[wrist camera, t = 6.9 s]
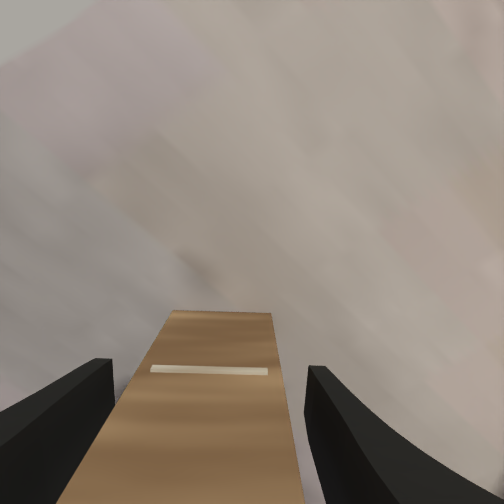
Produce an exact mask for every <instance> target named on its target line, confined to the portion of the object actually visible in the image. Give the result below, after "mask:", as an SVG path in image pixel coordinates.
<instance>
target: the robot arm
mask: <svg viewBox="0 0 504 504" xmlns="http://www.w3.org/2000/svg"><path fill="white" fill-rule="evenodd" d="M114 407H115V397H114V381H113V365H112V359H102V358H95V359H93V360H91V361H89V362H87V363H85V364H84V365H82V366H80V367H78V368H77V369H75V370H73V371H72V372H70V373H68V374H67V375H65V376H63V377H62V378H60V379H58V380H56V381H55V382H53V383H51V384H50V385H48V386H46V387H45V388H43V389H41V390H39V391H38V392H36V393H34V394H32V395H30V396H29V397H27V398H25V399H23V400H21V401H20V402H18V403H16V404H14V405H12V406H10V407H9V408H7V409H5V410H3V411H1V412H0V504H56V503H57V501H58V499H59V498H60V496H61V494H62V493H63V491H64V489H65V488H66V486H67V484H68V483H69V481H70V480H71V478H72V476H73V475H74V473H75V471H76V470H77V468H78V466H79V465H80V463H81V461H82V460H83V458H84V456H85V455H86V453H87V451H88V450H89V448H90V446H91V445H92V443H93V442H94V440H95V438H96V437H97V435H98V433H99V432H100V430H101V428H102V427H103V425H104V423H105V422H106V420H107V418H108V417H109V415H110V413H111V412H112V410H113V408H114ZM304 417H305V423H306V430H307V435H308V441H309V445H310V449H311V452H312V456H313V459H314V463H315V466H316V470H317V473H318V477H319V480H320V484H321V487H322V491H323V494H324V498H325V501H326V504H504V500H503V499H501V498H499V497H497V496H495V495H494V494H492V493H490V492H488V491H487V490H485V489H483V488H481V487H479V486H478V485H476V484H474V483H472V482H470V481H469V480H467V479H465V478H464V477H462V476H460V475H459V474H457V473H455V472H454V471H452V470H451V469H449V468H447V467H446V466H444V465H443V464H441V463H440V462H438V461H437V460H435V459H433V458H432V457H430V456H429V455H427V454H426V453H424V452H423V451H422V450H420V449H419V448H417V447H416V446H414V445H413V444H412V443H410V442H409V441H408V440H406V439H405V438H404V437H402V436H401V435H400V434H398V433H397V432H396V431H394V430H393V429H392V428H391V427H389V426H388V425H387V424H386V423H385V422H383V421H382V420H381V419H380V418H379V417H378V416H376V415H375V414H374V413H373V412H372V411H371V410H370V409H368V408H367V407H366V406H365V405H364V404H363V403H362V402H361V401H360V400H359V399H358V398H357V397H356V396H355V395H354V394H352V393H351V392H350V391H349V390H348V389H347V388H346V387H345V386H344V385H343V384H342V383H341V382H340V381H339V379H338V378H337V377H336V376H335V375H334V374H333V373H332V372H331V371H330V370H329V369H328V368H327V367H326V366H311V365H309V367H308V377H307V387H306V396H305V406H304Z"/></svg>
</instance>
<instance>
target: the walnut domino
mask: <svg viewBox="0 0 504 504" xmlns="http://www.w3.org/2000/svg"><path fill="white" fill-rule="evenodd" d="M56 504H305V500H304V495H303V489H302V484H301V478H300V472H299V467H298V461H297V456H296V450H295V444H294V439H293V433H292V428H291V422H290V416H289V411H288V405H287V400H286V394H285V388H284V383H283V377H282V372H281V366H280V361H279V355H278V349H277V344H276V338H275V333H274V327H273V321H272V316H271V313H246V312H212V311H179V310H173V311H172V313H171V314H170V316H169V318H168V319H167V321H166V323H165V324H164V326H163V327H162V329H161V331H160V332H159V334H158V336H157V337H156V339H155V341H154V342H153V344H152V346H151V347H150V349H149V351H148V352H147V354H146V356H145V357H144V359H143V361H142V362H141V364H140V365H139V367H138V369H137V370H136V372H135V374H134V375H133V377H132V379H131V380H130V382H129V384H128V385H127V387H126V389H125V390H124V392H123V394H122V395H121V397H120V399H119V400H118V402H117V404H116V405H115V407H114V408H113V410H112V412H111V413H110V415H109V417H108V418H107V420H106V422H105V423H104V425H103V427H102V428H101V430H100V432H99V433H98V435H97V437H96V438H95V440H94V442H93V443H92V445H91V446H90V448H89V450H88V451H87V453H86V455H85V456H84V458H83V460H82V461H81V463H80V465H79V466H78V468H77V470H76V471H75V473H74V475H73V476H72V478H71V480H70V481H69V483H68V484H67V486H66V488H65V489H64V491H63V493H62V494H61V496H60V498H59V499H58V501H57V503H56Z"/></svg>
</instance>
